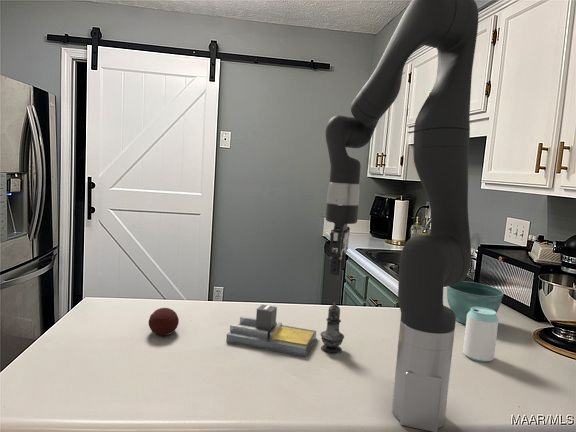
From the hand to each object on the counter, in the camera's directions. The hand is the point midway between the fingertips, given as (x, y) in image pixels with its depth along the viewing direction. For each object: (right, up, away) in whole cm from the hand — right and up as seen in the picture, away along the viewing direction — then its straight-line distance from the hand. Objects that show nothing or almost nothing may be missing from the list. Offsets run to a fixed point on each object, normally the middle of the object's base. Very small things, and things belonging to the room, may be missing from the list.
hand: (337, 271), depth 100 cm
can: (+35, -22, +3) cm, 42 cm away
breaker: (-18, -16, +5) cm, 24 cm away
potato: (-44, -17, +6) cm, 47 cm away
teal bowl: (+45, -20, +29) cm, 57 cm away
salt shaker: (-1, -20, +2) cm, 20 cm away
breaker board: (-16, -18, +5) cm, 25 cm away
